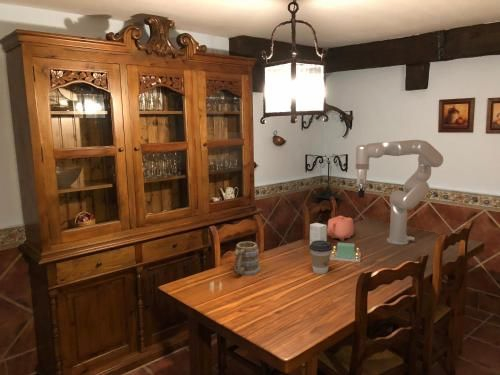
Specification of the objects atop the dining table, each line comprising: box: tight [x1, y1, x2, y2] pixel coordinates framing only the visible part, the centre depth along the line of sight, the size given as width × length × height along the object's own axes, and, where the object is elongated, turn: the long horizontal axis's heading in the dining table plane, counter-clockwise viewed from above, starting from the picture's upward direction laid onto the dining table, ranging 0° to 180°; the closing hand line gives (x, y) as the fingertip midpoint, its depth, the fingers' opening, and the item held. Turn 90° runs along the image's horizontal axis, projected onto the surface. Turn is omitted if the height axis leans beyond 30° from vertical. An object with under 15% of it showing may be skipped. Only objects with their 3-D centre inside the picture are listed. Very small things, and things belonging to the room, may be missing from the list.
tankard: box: [233, 240, 261, 276], centre depth 211 cm, size 20×13×15 cm, turn 154°
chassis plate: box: [329, 245, 362, 263], centre depth 232 cm, size 16×12×4 cm
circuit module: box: [336, 242, 356, 257], centre depth 231 cm, size 9×5×6 cm, turn 73°
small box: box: [309, 222, 328, 246], centre depth 251 cm, size 8×6×13 cm
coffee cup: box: [308, 240, 333, 275], centre depth 211 cm, size 11×11×15 cm
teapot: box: [327, 215, 355, 242], centre depth 265 cm, size 22×13×14 cm, turn 135°
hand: (361, 195), depth 245 cm, fingers open, 9 cm apart
